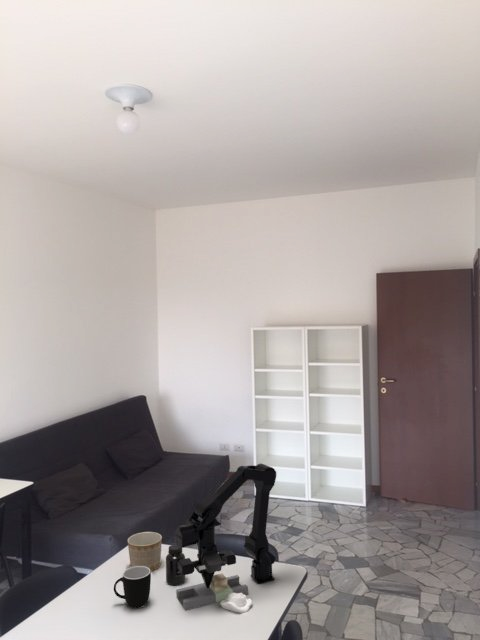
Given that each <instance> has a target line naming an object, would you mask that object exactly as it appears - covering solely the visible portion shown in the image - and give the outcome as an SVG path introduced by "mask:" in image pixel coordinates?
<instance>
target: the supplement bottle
mask: <svg viewBox="0 0 480 640" xmlns="http://www.w3.org/2000/svg"><path fill="white" fill-rule="evenodd" d="M167 551H168V553H167V555H166V557H165V578H166V579H165V580H166V583H167V585H170V586H179V585H182V584H183V583H185V582H186V575H182V573H181V572H180V571H179V569H178V562H179V560H182V559H186V555H185V554H184V553H183V548H178V547H177V545H176V543H175V544H171V545H169V546H168V550H167Z"/></svg>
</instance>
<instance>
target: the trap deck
mask: <svg viewBox="0 0 480 640" xmlns="http://www.w3.org/2000/svg"><path fill="white" fill-rule="evenodd" d="M226 578H227V587H228V588H226V589H222V590H218V591H214V590H213V588H212V587H211V586H210V587H209V588H206V585H205V583H204V582H203V583H197V584H193V585H189V586H185V587H181V588H177V589H176V590H175V593H176V599H177V600H178V602H179V603H180V605H181V606H182V608H183V610H184V611H188V610H191V609H195V608H199V607H204V606H207V605H211V604H215V603H219V602H221V601H222V600H225V599H226V598H228V595H229V594H230V593H243V595H246V596H247V595H249V587H248V585H247V584H242V585H241V583H240V576H239V575H238V574H235V575H232V576H228V577H226Z"/></svg>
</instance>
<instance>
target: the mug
mask: <svg viewBox="0 0 480 640" xmlns="http://www.w3.org/2000/svg"><path fill="white" fill-rule="evenodd" d="M151 572H152V571H150V569H149V568H148V567H145V566H135V567H131V566H130V567H129V568H126V569H125V570H124V571H123V573H122V577H120V578H118V579H117V580H116V581H115V582H114V584H113V592H114V594H115V596H116V597H118V598H120V599H123V600H125V603H126V605H127V606H128V608H131V609H140V608H143V607H145V606H146V605H147V604H148V601H149V599H150V593H151V582H152V581H151V579H152V578H151V576H152V573H151ZM120 582H122V585H123V594H120V593H119V592H118V590H117V585H118V584H119V583H120Z"/></svg>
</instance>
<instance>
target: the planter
mask: <svg viewBox="0 0 480 640" xmlns="http://www.w3.org/2000/svg"><path fill="white" fill-rule="evenodd" d="M162 540H163V536H162V535H161V534H160V533H158V532H154V531H143V532H138V533H135V534H132V535H131V536H129V537H128V538H127V548H128V555H129V565H130V568H131V567H135V566H145V567H148V568H149V569H150V571H151V572H152V571H155V570H157V569H158V568H159V567H160V566H161V560H162V559H161V558H162V557H161V556H162Z"/></svg>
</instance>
